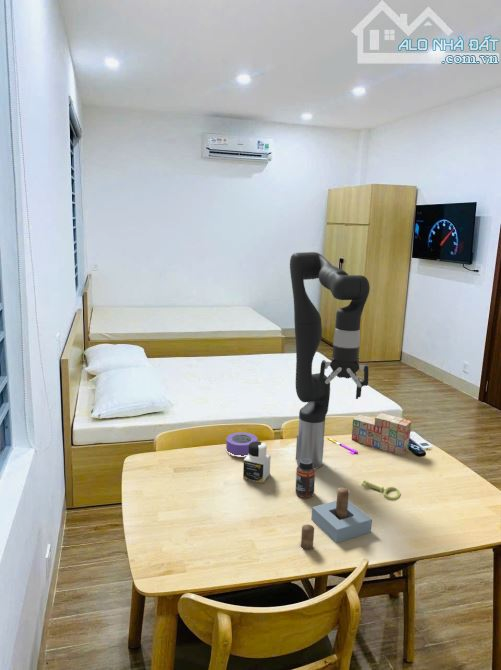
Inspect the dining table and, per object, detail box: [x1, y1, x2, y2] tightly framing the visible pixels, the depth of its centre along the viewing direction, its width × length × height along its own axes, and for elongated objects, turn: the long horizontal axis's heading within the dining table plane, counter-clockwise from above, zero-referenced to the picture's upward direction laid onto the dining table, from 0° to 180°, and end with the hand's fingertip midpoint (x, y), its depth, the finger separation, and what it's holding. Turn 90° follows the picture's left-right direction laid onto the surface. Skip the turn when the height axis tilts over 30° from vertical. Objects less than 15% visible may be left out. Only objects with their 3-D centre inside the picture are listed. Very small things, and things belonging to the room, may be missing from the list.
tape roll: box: [225, 432, 258, 456], centre depth 187 cm, size 12×12×5 cm
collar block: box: [311, 499, 373, 544], centre depth 141 cm, size 12×12×4 cm
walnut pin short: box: [300, 524, 315, 551], centre depth 131 cm, size 3×3×6 cm
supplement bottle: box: [295, 458, 316, 498], centre depth 157 cm, size 6×6×11 cm
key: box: [361, 480, 401, 501], centre depth 160 cm, size 7×12×2 cm, turn 75°
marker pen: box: [326, 437, 359, 455], centre depth 193 cm, size 3×1×16 cm
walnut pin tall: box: [335, 487, 350, 520], centre depth 140 cm, size 3×3×11 cm
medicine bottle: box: [242, 440, 271, 484], centre depth 167 cm, size 7×7×12 cm
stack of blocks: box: [351, 412, 412, 456], centre depth 194 cm, size 21×6×12 cm, turn 53°
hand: (342, 396), depth 148 cm, fingers open, 8 cm apart
